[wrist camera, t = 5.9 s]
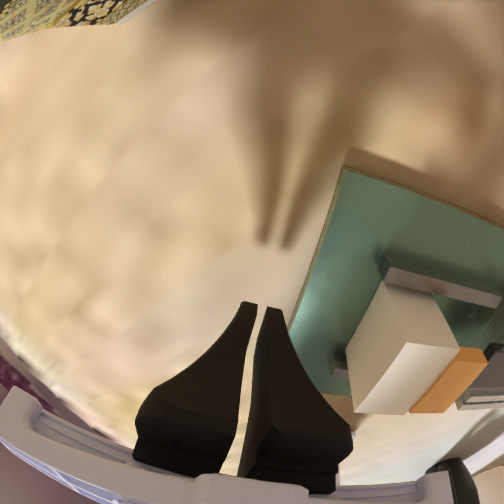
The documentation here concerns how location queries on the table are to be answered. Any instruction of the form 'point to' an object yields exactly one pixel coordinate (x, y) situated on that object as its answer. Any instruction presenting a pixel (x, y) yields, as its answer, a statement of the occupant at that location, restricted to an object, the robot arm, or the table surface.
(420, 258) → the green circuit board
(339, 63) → the table surface
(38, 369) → the table surface
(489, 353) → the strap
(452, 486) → the mug
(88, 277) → the table surface
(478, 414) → the table surface
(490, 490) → the cylinder
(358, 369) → the block
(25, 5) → the ceramic cup
